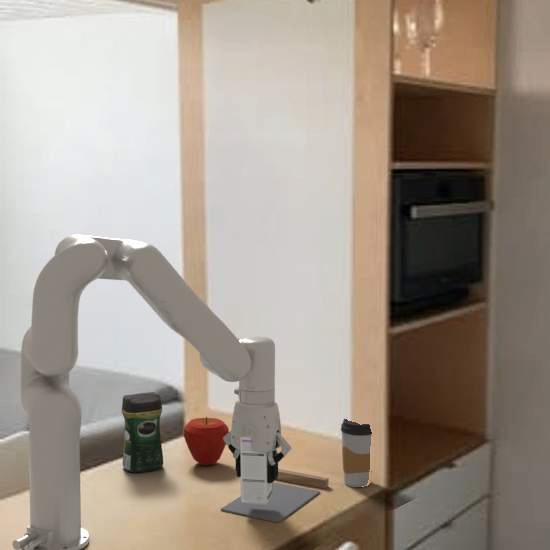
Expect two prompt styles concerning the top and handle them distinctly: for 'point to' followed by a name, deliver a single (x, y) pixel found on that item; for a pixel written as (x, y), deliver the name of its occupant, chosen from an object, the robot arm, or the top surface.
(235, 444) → the robot arm
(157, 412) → the coffee jar
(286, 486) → the mat
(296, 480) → the strip
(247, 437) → the syrup box
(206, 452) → the apple
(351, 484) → the coffee cup
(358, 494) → the top surface
